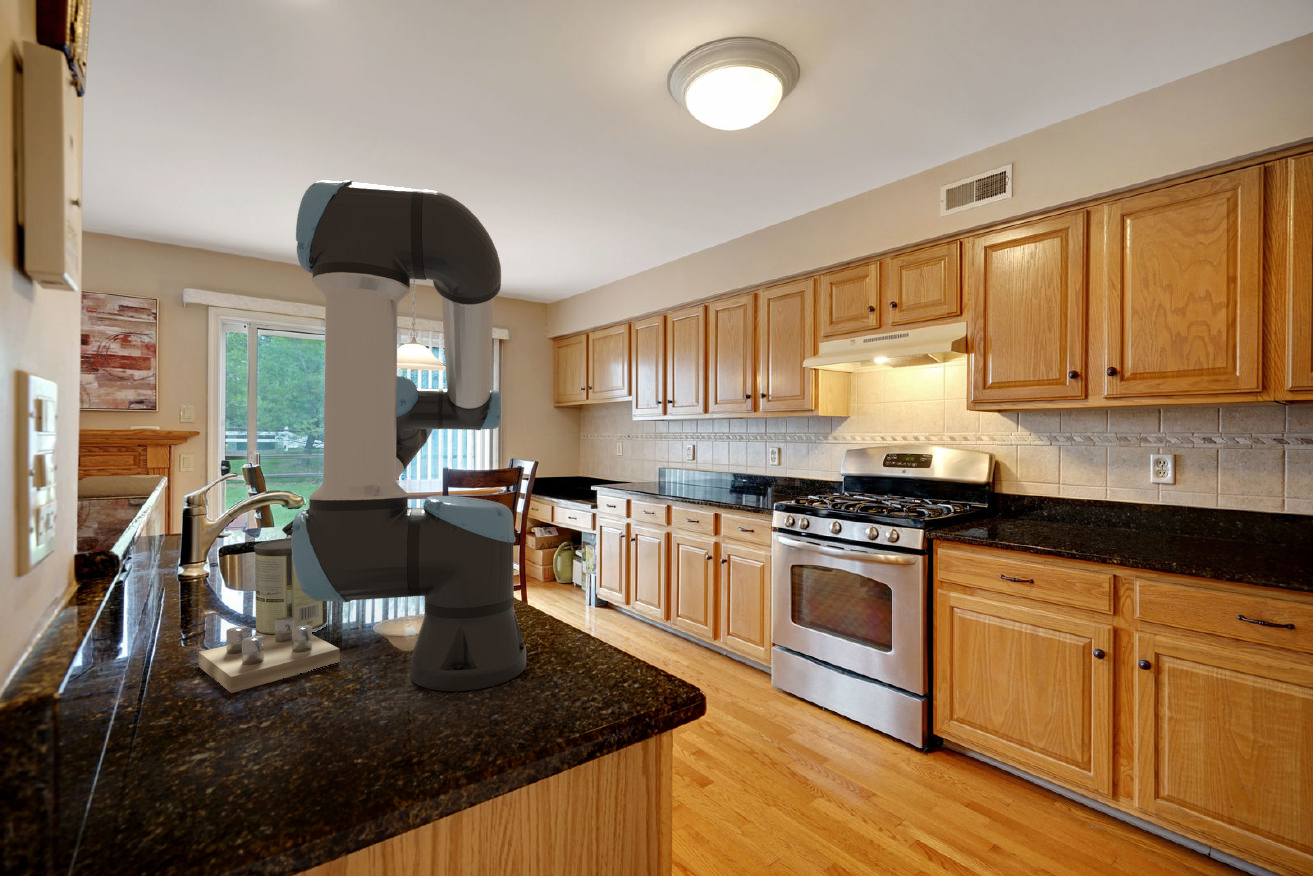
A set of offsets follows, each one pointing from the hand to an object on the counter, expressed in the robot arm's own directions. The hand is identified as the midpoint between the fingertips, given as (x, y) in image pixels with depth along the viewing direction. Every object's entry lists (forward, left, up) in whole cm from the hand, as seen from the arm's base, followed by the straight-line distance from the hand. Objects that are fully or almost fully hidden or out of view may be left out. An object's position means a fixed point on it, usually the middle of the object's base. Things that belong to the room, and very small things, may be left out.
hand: (296, 576), depth 103 cm
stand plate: (-15, +9, -8) cm, 19 cm away
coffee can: (-1, +1, -8) cm, 9 cm away
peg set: (-15, +9, -6) cm, 19 cm away
